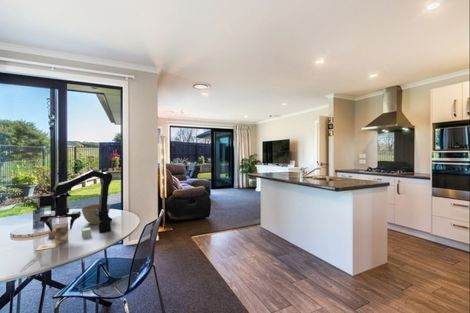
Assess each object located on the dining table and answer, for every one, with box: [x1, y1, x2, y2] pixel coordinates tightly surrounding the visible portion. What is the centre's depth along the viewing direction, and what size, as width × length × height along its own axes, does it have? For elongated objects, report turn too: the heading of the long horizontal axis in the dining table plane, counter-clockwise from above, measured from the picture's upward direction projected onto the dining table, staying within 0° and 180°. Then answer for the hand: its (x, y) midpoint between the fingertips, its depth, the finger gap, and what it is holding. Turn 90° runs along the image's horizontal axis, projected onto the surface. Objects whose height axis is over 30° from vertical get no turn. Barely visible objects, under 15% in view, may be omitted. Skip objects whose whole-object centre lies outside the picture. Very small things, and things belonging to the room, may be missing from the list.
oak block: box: [54, 231, 69, 244], centre depth 135 cm, size 5×5×4 cm
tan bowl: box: [81, 203, 111, 225], centre depth 169 cm, size 18×18×12 cm
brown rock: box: [48, 222, 69, 239], centre depth 148 cm, size 17×8×5 cm, turn 30°
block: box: [81, 227, 92, 239], centre depth 143 cm, size 4×4×4 cm
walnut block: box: [56, 225, 68, 236], centre depth 134 cm, size 4×4×4 cm
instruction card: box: [34, 242, 60, 252], centre depth 127 cm, size 9×7×1 cm
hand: (61, 230), depth 135 cm, fingers open, 9 cm apart
